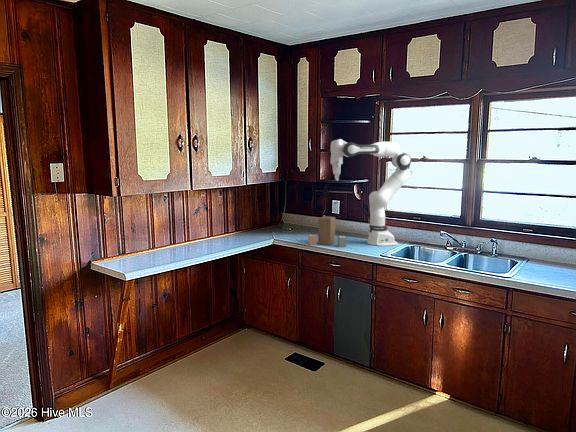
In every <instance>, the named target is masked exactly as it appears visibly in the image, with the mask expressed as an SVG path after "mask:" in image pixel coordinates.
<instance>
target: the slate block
mask: <svg viewBox="0 0 576 432" xmlns="http://www.w3.org/2000/svg"><path fill="white" fill-rule="evenodd" d="M337 237H338V238H337V246H338V247H339V248H346V247H347V237H346V236H344V235H339V236H337Z"/></svg>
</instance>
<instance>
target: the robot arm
mask: <svg viewBox="0 0 576 432" xmlns="http://www.w3.org/2000/svg"><path fill="white" fill-rule="evenodd" d="M330 153H331V154H330V165H331V166H332V174H333V175H334V180H335V181H339V180H340V175H341V171H342V170H341V167H342V165H343V164H344V161H343V160H344V157H346V158H349V157H350V158H353V157H355V156H357V155H363V154H364V155H365V154H366V155H368V154H369V155H373V156H374V157H376V158H377V157H379V158H388V157H389V158H390V162H391V164H392V165H393V167H395V170H394V172H393V173H392V174H391V175H390V176H389V177H388V178H387V179H386V180H385V181H384V183H383V185H382V186H381V187H380V188H379V190H375V191H371V192H370V194H369V196H368V200H369V214H370V215H369V225H368V238H367V241H366V244H368V245H373V246H377V247H386V246H387V247H388V246H398V242H397V241H396V240H395V236H394V235H393V233H391V232H390V231H389V230H390V226H389V225H386V213H385V212H386V211H385V208H386V207H387V206H388V205H389V202H390V201H391V200H392V198H393V197H394V196H395V194H396V193H397V191H398V190H399V189H401V188H402V186H403V185H404V184H405V183H406V182H407V181H408V179H409V178H410V176H411V171H410V170H409V169H410V167H411V163H412V157H411V155H410V154H409V153H408V152H402V151H401V149H400V145H399V143H398V142H396V141H395V142H394V141H393V142H392V141H378V142H377V141H376V142H373V143H372V144H357V143H355V142H353V141H349V142H347V141H345V140H343V139H342V138H336V139H333V140H332V141H331V142H330Z"/></svg>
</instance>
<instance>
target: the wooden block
mask: <svg viewBox="0 0 576 432" xmlns="http://www.w3.org/2000/svg"><path fill="white" fill-rule="evenodd" d="M317 243H318V244H319V245H324V246H325V245H326V246H332V245H333V244H335V243H336V217H335V216H328V215H323V216H321V217H319V218H318V242H317Z"/></svg>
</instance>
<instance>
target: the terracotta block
mask: <svg viewBox="0 0 576 432" xmlns="http://www.w3.org/2000/svg"><path fill="white" fill-rule="evenodd" d="M308 245H309V246H317V235H316V234H315V233H314V234H311V233H310V234H308Z"/></svg>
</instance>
